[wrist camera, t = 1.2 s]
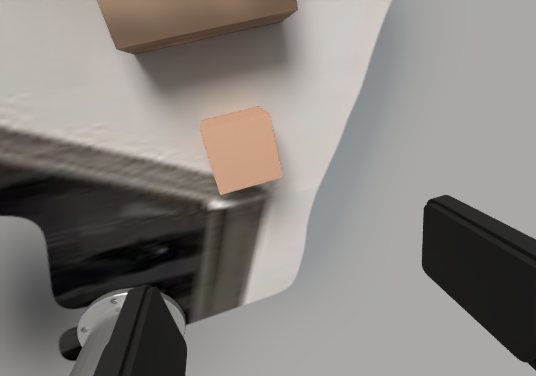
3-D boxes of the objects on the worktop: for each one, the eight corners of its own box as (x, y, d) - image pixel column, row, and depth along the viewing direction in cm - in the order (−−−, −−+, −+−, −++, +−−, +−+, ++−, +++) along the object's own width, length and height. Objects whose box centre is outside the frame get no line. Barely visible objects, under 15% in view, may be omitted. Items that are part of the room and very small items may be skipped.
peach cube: (269, 159, 31) (282, 177, 25) (218, 173, 30) (220, 195, 25) (257, 106, 28) (269, 113, 23) (201, 120, 28) (199, 130, 22)
